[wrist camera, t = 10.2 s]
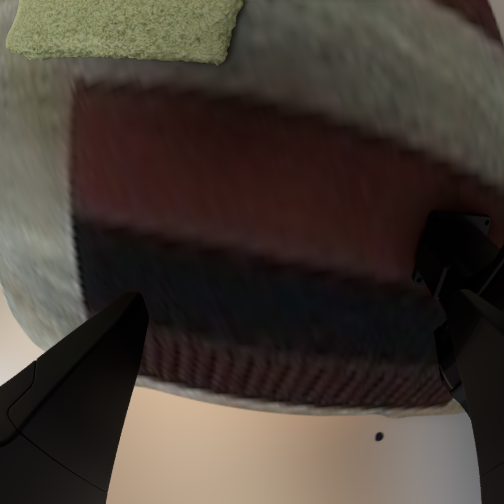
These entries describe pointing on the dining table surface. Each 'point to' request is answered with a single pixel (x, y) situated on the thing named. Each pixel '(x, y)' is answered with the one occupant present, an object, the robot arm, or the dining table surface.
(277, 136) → the dining table surface
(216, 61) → the washcloth
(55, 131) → the dining table surface
